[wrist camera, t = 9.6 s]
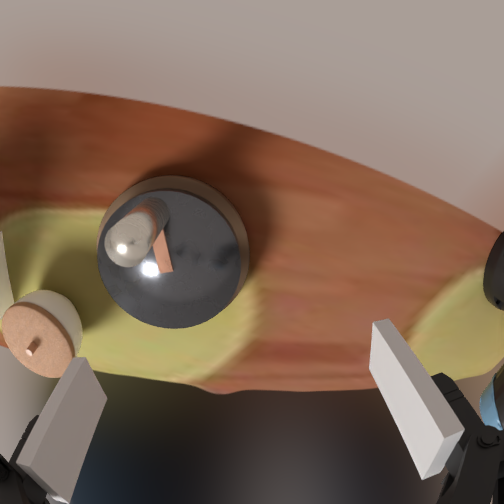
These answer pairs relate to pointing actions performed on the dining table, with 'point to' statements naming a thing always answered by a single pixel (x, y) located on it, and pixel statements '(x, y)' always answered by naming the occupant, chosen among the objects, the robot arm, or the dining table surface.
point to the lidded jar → (43, 332)
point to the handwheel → (169, 258)
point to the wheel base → (201, 190)
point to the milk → (4, 282)
